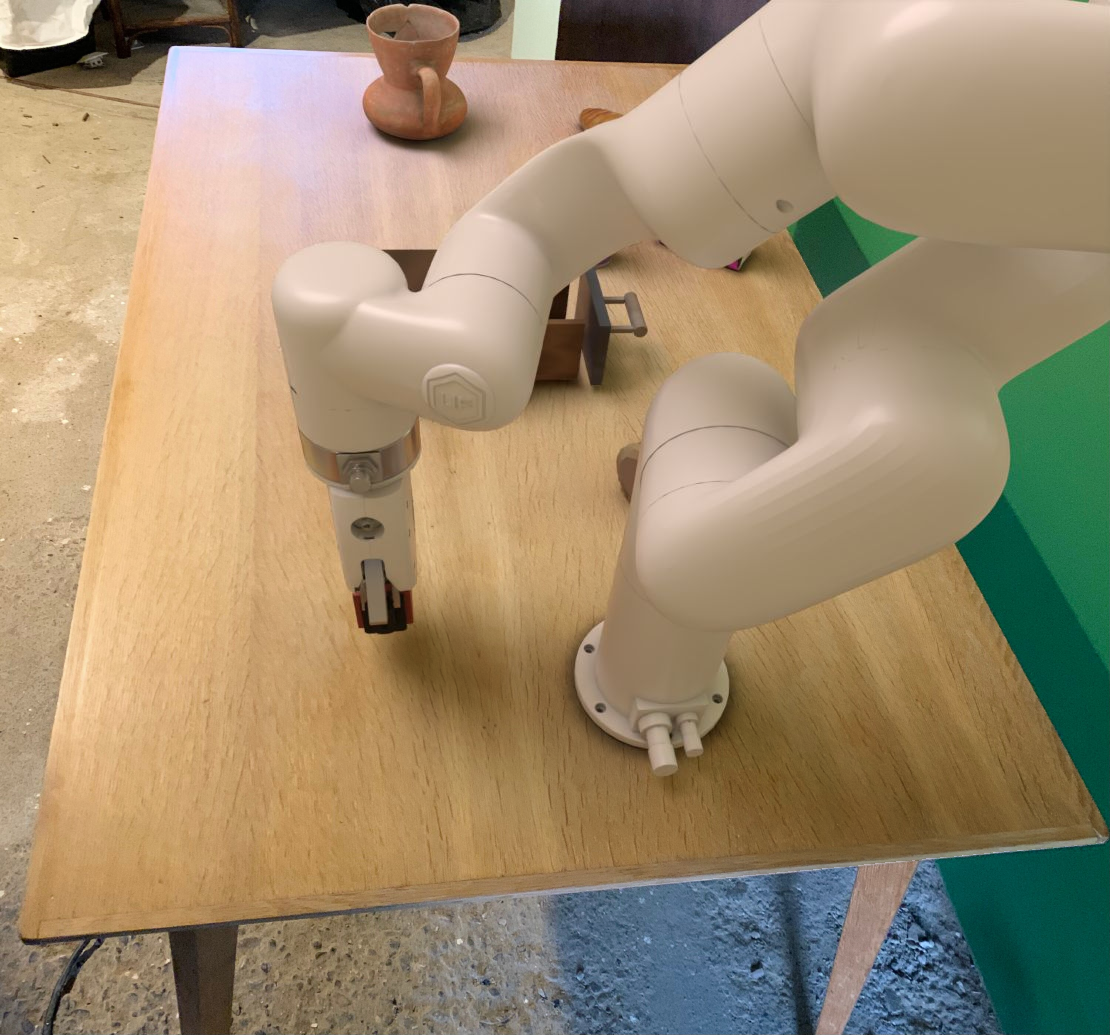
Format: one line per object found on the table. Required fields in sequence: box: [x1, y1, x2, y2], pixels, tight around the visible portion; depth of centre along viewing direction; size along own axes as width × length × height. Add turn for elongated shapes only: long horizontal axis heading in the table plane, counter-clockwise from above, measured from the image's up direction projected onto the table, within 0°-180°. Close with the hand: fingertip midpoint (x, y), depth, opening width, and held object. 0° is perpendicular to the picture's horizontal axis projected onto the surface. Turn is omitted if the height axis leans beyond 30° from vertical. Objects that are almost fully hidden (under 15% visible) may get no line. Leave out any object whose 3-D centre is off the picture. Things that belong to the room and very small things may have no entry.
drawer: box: [535, 266, 649, 387], centre depth 100 cm, size 18×11×8 cm, turn 98°
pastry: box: [578, 107, 624, 131], centre depth 136 cm, size 9×7×4 cm
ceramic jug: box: [361, 3, 468, 141], centre depth 129 cm, size 18×14×14 cm
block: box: [351, 584, 415, 629], centre depth 73 cm, size 4×4×4 cm
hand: (385, 601), depth 74 cm, fingers closed on block, 4 cm apart
